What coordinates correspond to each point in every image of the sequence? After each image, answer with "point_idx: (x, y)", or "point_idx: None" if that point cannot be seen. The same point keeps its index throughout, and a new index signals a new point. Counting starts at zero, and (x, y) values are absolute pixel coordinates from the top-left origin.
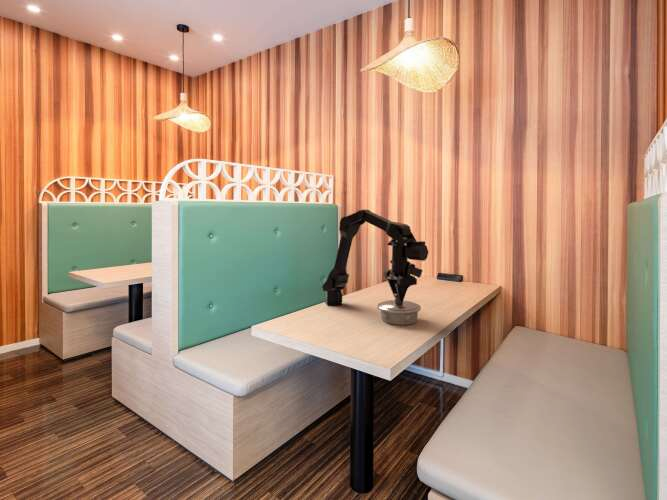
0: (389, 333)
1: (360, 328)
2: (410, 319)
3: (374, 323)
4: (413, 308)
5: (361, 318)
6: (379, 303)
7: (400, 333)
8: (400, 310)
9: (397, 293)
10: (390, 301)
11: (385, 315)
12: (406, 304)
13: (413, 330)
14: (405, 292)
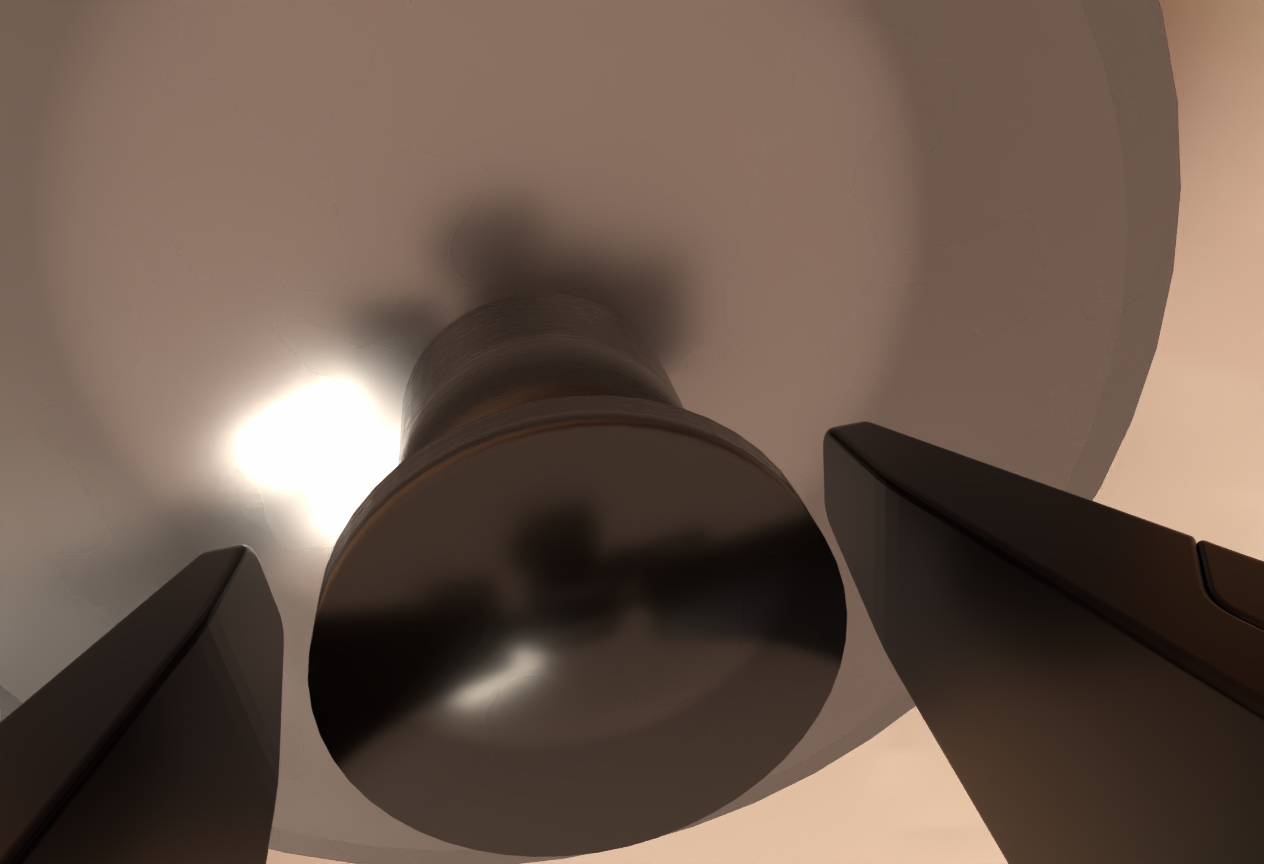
0: (1184, 514)
1: (883, 824)
2: None
3: None
4: (1089, 38)
5: None
6: (272, 835)
7: (1244, 363)
8: (1058, 443)
9: (508, 731)
10: (112, 615)
11: None
12: (533, 159)
13: (1192, 99)
14: (1242, 586)
